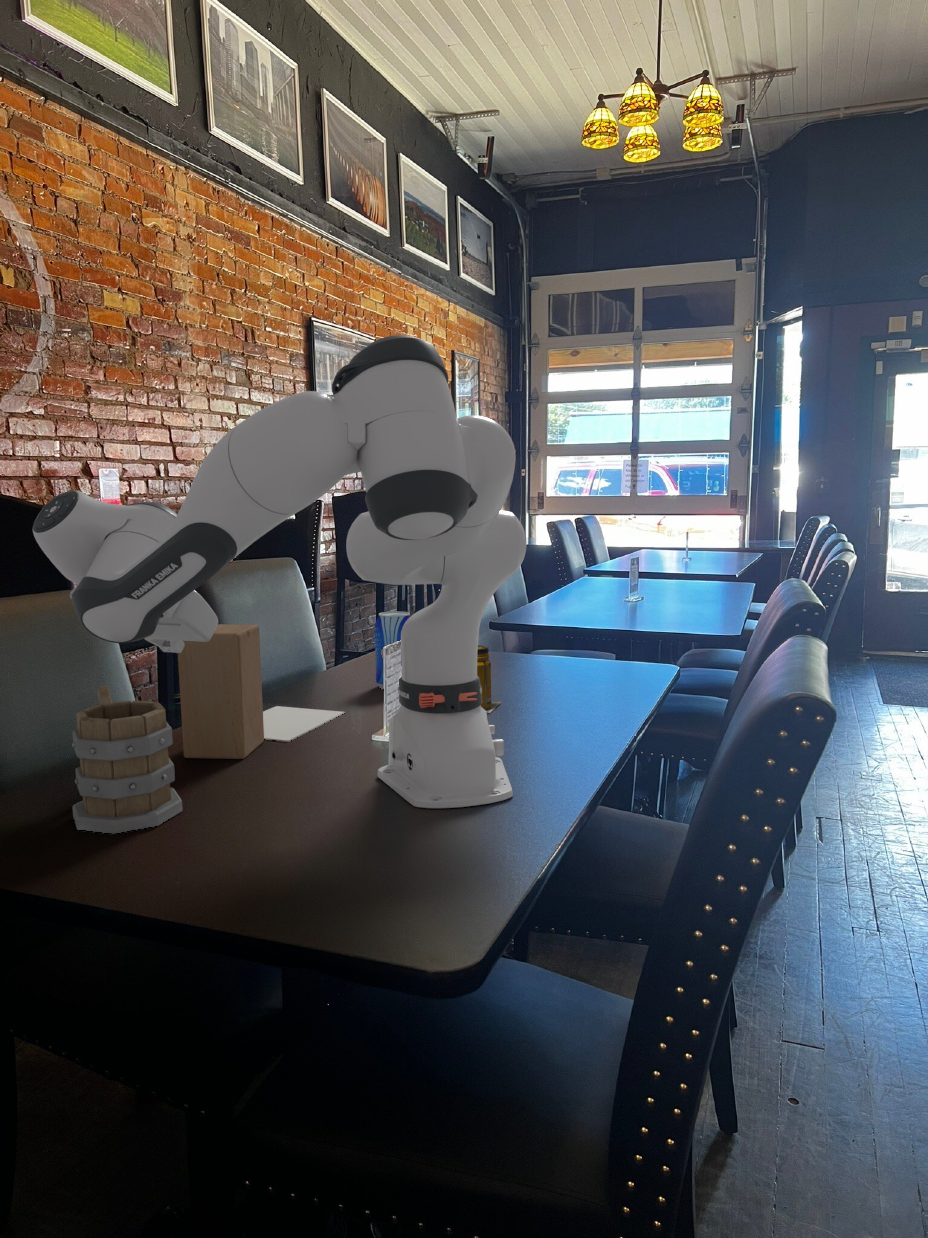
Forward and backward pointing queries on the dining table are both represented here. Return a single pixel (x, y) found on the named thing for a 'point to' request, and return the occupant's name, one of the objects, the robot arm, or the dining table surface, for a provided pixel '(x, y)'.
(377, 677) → the beer can
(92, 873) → the dining table surface
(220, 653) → the wooden block
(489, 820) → the dining table surface
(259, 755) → the dining table surface
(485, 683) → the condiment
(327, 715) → the mat
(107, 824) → the tankard
